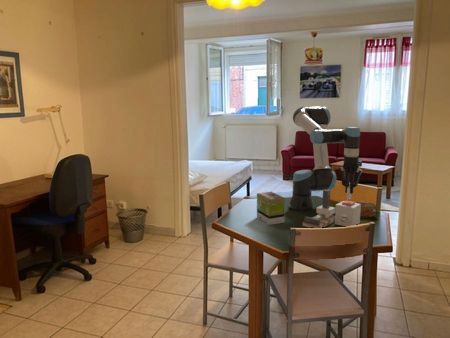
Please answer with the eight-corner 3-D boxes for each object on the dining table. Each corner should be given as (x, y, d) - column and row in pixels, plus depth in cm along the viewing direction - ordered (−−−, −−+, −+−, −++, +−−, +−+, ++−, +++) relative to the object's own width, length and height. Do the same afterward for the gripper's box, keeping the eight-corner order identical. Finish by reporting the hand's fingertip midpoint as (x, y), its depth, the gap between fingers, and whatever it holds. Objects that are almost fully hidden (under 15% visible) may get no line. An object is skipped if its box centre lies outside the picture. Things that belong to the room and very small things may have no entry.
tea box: (256, 217, 224) (256, 192, 221) (271, 215, 228) (271, 191, 225) (268, 225, 210) (269, 199, 208) (284, 222, 214) (285, 197, 212)
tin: (349, 215, 228) (350, 201, 227) (349, 213, 231) (350, 199, 230) (376, 217, 223) (377, 203, 221) (376, 216, 226) (377, 202, 224)
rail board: (319, 229, 203) (320, 220, 202) (302, 225, 209) (302, 216, 208) (339, 218, 221) (339, 210, 220) (322, 215, 227) (323, 207, 226)
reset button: (341, 207, 211) (342, 202, 210) (345, 205, 215) (345, 200, 214) (350, 209, 208) (351, 203, 207) (354, 207, 211) (354, 202, 211)
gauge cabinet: (334, 224, 212) (335, 204, 210) (342, 219, 220) (343, 200, 218) (352, 228, 205) (353, 208, 203) (359, 223, 213) (360, 203, 211)
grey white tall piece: (329, 218, 213) (330, 192, 211) (316, 216, 218) (317, 190, 216) (334, 215, 219) (336, 190, 216) (321, 213, 224) (323, 188, 221)
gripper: (336, 155, 207) (334, 198, 211) (360, 158, 199) (357, 202, 203) (342, 154, 213) (340, 195, 217) (366, 156, 205) (363, 199, 209)
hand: (348, 199), depth 210 cm, fingers closed
